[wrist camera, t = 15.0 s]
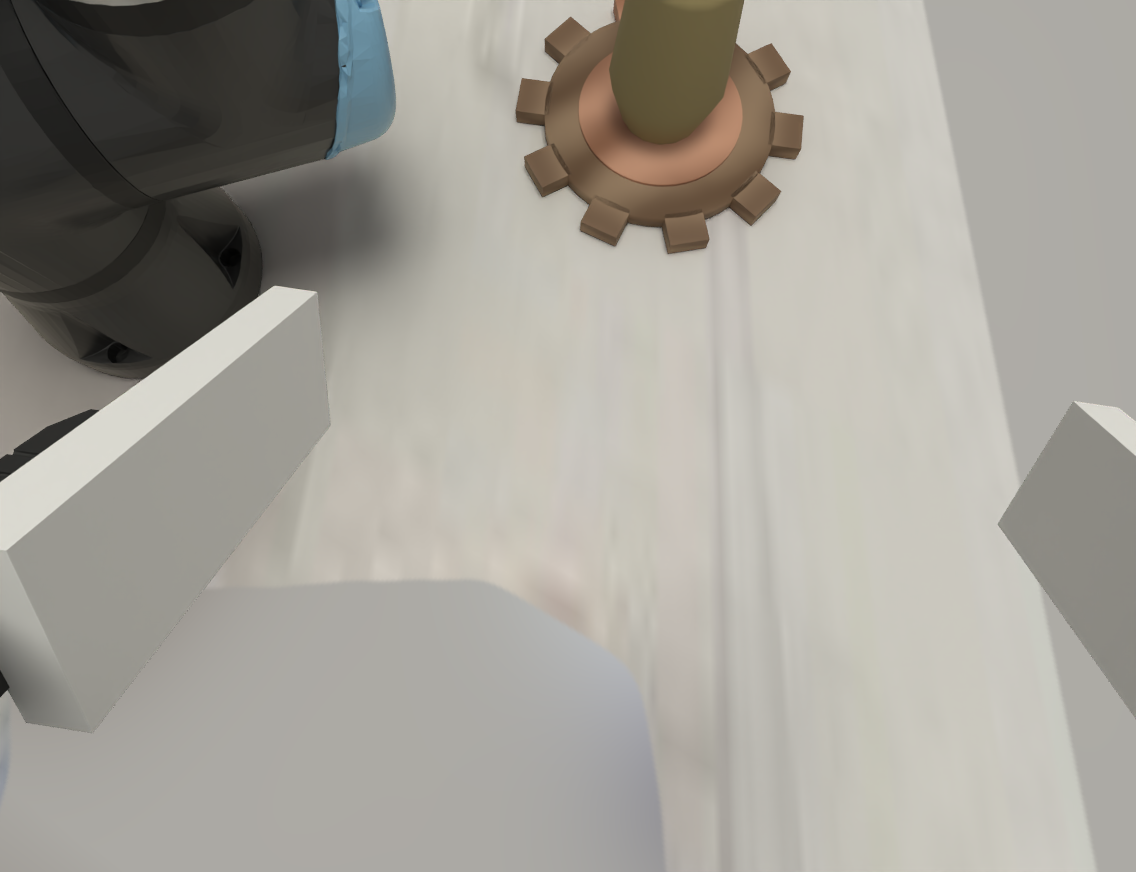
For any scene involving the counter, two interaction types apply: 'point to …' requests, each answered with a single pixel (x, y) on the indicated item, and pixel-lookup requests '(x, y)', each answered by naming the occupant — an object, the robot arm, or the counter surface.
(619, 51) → the squeeze bottle
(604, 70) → the sprocket disc
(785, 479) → the counter surface
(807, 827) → the counter surface
